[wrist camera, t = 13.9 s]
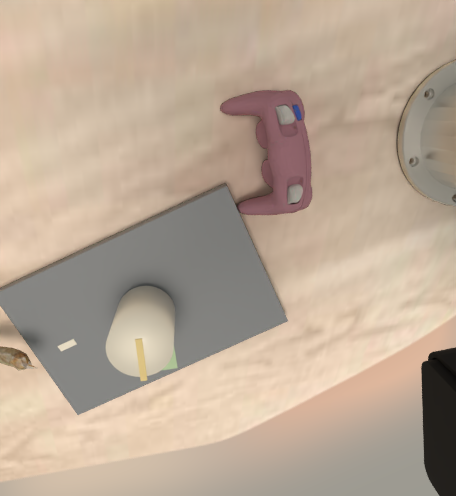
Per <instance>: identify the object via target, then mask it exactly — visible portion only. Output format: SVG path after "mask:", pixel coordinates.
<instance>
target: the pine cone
mask: <svg viewBox="0 0 456 496" xmlns="http://www.w3.org/2000/svg"><path fill="white" fill-rule="evenodd" d="M0 363H2V364H5V365H8V366H12V367H15V368H16V369H17V370H25V369H26V368H36V367H34V366H32V364H31V361H30V360H29V358H28V356H27V354H25V353H24V352H22V351H20V350H17V349H14V348H8V347H0Z"/></svg>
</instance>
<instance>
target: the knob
mask: <svg viewBox="0 0 456 496" xmlns="http://www.w3.org/2000/svg"><path fill="white" fill-rule="evenodd" d="M174 328H175V306H174V303H173V301H172V299H171V298H170V296H169V295H168V294H167V293H165V292H164V291H163V290H161V289H159V288H156V287H153V286H139V287H136V288H133V289H131V290H130V291H128V292H127V293H126V294H125V295H124V296H123V297H122V298H121V300H120V302H119V305H118V308H117V311H116V313H115V316H114V319H113V322H112V325H111V328H110V331H109V334H108V337H107V341H106V354H107V357H108V359H109V361H110V362H111V364H112V365H113V366H114V367H115V368H116V369H117V370H119V371H120V372H122V373H124V374H126V375H130V376H135V377H140V380H141V381H147V376H150V375H153V374H155V373H158V372H159V371H161V370H162V369H163V368H165V367H166V365H167V364H168V363H169V361H170V360H171V358H172V355H173V350H174Z"/></svg>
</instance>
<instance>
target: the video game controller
mask: <svg viewBox="0 0 456 496" xmlns="http://www.w3.org/2000/svg"><path fill="white" fill-rule="evenodd" d="M220 110H221V111H222V112H223V113H225V114H229V115H254V116H259V117H261V118H262V120H261V121H260V122H259V123H258V125H257V127H256V136H257V140H258V142H259V144H260V145H261V147H263V148H265V149H267V148H268V160H265V161H264V162H263V164H262V176H263V179H264V181H265V182H266V183H267V184H268V185H269V186H270V187H272V188H273V192H272V193H270V194H268V195H265V196H261V197H256V198H252V199H248V200H245V201H243V202H241V203H239V204H238V206H237V209H238V211H240V212H241V213H243V214H247V215H277V214H284V213H293V212H297V211H299V210H302V209H304V208H307V207H308V205H309V204H310V202H311V199H312V187H311V154H310V147H309V141H308V136H307V131H306V127H305V124H304V107H303V104H302V101H301V99H300V97H299V96H298V95H297V94H296V93H295V92H293V91H291V90H286V91H271V90H266V91H256V92H252V93H248V94H245V95H241V96H238V97H234V98H231V99H229V100H227V101H225V102H224V103H223V104H222V105H221V107H220Z"/></svg>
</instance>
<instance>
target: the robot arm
mask: <svg viewBox="0 0 456 496" xmlns="http://www.w3.org/2000/svg"><path fill="white" fill-rule="evenodd" d="M425 92H426V96H425V97H424V93H425ZM398 156H399V160H400V164H401V168H402V170H403V172H404V174H405V176H406V178H407V180H408V181H409V182H410V183H411V185H412V186H413V187H414V188H415V189H416V190H417V191H418V192H420V193H421V194H422V195H423V196H425V197H427V198H429V199H431V200H433V201H435V202H438V203H442V204H444V205H450V206H456V60H454V61H452V62H450V63H447V64H445V65H443V66H442V67H440V68H439V69H437V70H436V71H435V72H433V73H432V74H430V75H429V76H428V77H427V78H426V79H425V80H424V81H423V82H422V83H421V84H420V85H419V87H418V88H417V90H416V91H415V92H414V94H413V95H412V97H411V98H410V100H409V102H408V104H407V106H406V108H405V110H404V112H403V116H402V119H401V122H400V126H399V132H398ZM410 158H411V162H410V163H409V160H410ZM421 369H422V401H423V434H424V464H425V469H426V472H427V475H428V477H429V480H430V481H431V483H432V485H433V486H434V488H435V490H436V491H437V493H438V494H439V496H456V348H451V349H446V350H441V351H436V352H432V353H430V354H429V357H428V361H425V362H423V363H422V368H421Z"/></svg>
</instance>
